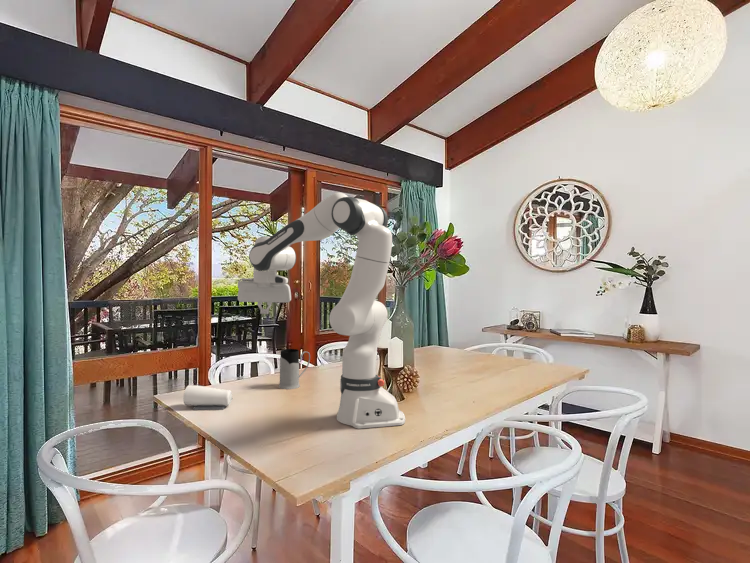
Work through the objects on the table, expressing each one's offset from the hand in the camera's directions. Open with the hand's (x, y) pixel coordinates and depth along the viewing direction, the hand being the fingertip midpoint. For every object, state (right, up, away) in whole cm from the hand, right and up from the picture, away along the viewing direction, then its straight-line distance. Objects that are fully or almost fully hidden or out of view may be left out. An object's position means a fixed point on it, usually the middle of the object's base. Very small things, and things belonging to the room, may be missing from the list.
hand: (264, 313), depth 165 cm
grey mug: (+10, -31, +13) cm, 35 cm away
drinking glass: (-7, -28, -17) cm, 34 cm away
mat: (-14, -31, -14) cm, 37 cm away
